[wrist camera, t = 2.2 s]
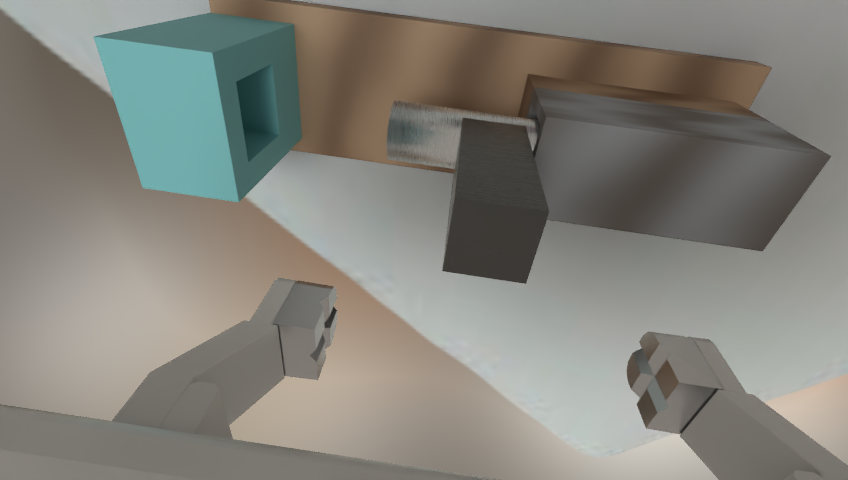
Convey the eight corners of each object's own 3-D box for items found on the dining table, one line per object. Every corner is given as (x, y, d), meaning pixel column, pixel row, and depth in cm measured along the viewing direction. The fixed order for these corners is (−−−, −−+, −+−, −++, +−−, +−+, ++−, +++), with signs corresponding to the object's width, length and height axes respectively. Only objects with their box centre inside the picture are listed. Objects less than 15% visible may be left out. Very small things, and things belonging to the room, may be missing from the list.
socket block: (294, 23, 24) (212, 52, 17) (302, 138, 28) (238, 202, 21) (211, 12, 24) (93, 36, 17) (230, 127, 28) (142, 187, 21)
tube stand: (756, 62, 24) (891, 112, 16) (684, 197, 29) (759, 284, 21) (221, -9, 25) (103, 6, 17) (243, 134, 30) (160, 195, 22)
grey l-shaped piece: (743, 140, 21) (925, 266, 13) (714, 192, 23) (856, 333, 14) (398, 93, 22) (345, 181, 13) (395, 146, 23) (346, 256, 15)
